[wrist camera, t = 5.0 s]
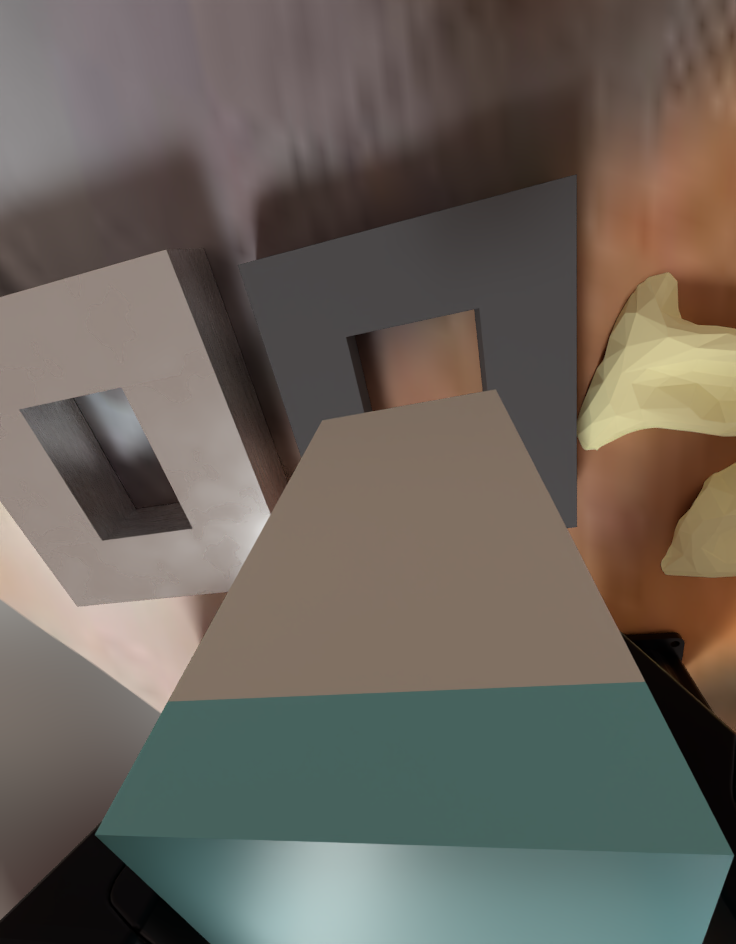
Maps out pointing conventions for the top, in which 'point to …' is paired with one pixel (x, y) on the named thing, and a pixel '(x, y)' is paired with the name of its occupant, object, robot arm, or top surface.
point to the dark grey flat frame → (438, 314)
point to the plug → (418, 720)
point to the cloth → (672, 410)
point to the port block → (161, 417)
